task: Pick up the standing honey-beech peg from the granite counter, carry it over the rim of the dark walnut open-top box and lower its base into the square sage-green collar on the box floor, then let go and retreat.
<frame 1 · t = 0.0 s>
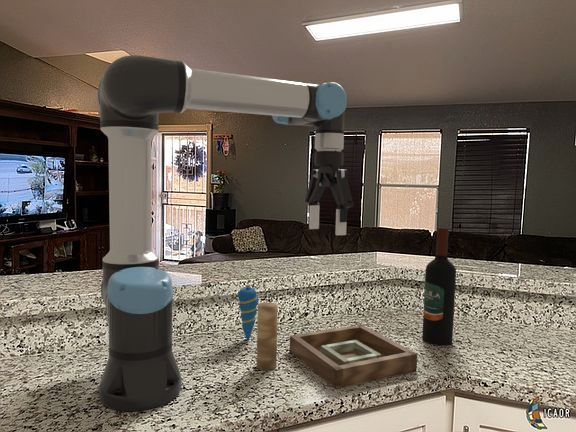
hand: (326, 231, 118), 28 cm above the worktop, fingers open, 13 cm apart
box: (350, 360, 104), on the worktop
wine bottle: (437, 340, 118), on the worktop
ornament: (247, 340, 116), on the worktop
peg: (266, 366, 100), on the worktop
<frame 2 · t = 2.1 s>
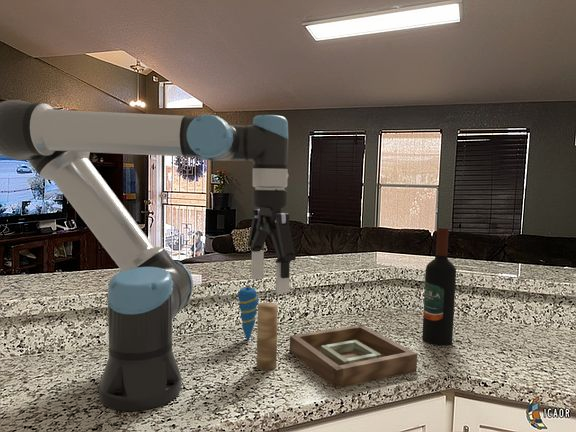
hand: (269, 285, 98), 18 cm above the worktop, fingers open, 13 cm apart
nothing on the worktop moved.
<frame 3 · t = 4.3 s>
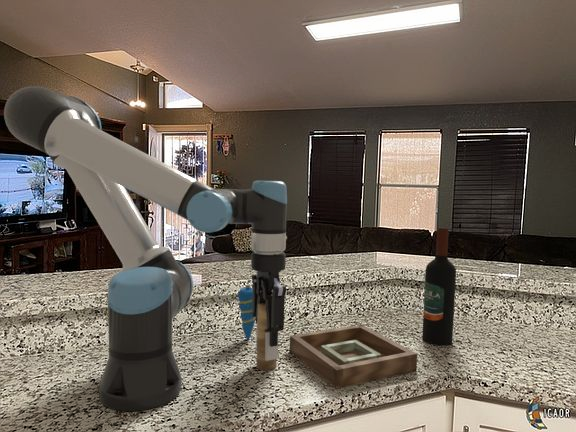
hand: (266, 354, 100), 3 cm above the worktop, fingers closed on peg, 4 cm apart
peg: (266, 366, 100), on the worktop, touching gripper
everything else where it was.
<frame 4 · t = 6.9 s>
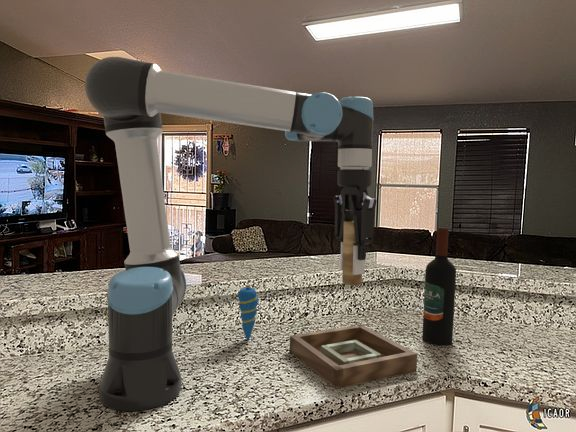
hand: (352, 271, 102), 21 cm above the worktop, fingers closed on peg, 4 cm apart
peg: (352, 282, 102), point 19 cm above the worktop, touching gripper
everything else where it was.
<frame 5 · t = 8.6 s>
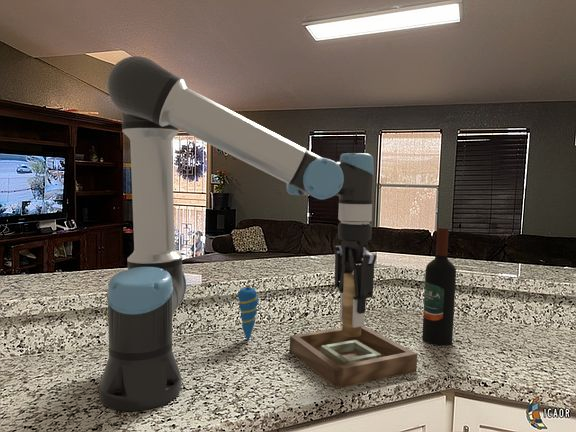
hand: (351, 322, 103), 9 cm above the worktop, fingers closed on peg, 4 cm apart
peg: (351, 333, 103), point 6 cm above the worktop, touching gripper
everything else where it was.
when the fingers open (4 cm above the worktop, at t = 9.7 s): peg drops 1 cm, resting on box.
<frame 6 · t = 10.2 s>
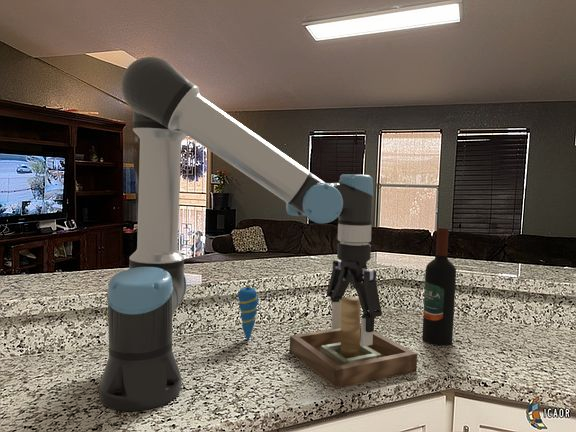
hand: (350, 336, 103), 6 cm above the worktop, fingers open, 11 cm apart
peg: (350, 358, 104), point 1 cm above the worktop, touching box
everything else where it was.
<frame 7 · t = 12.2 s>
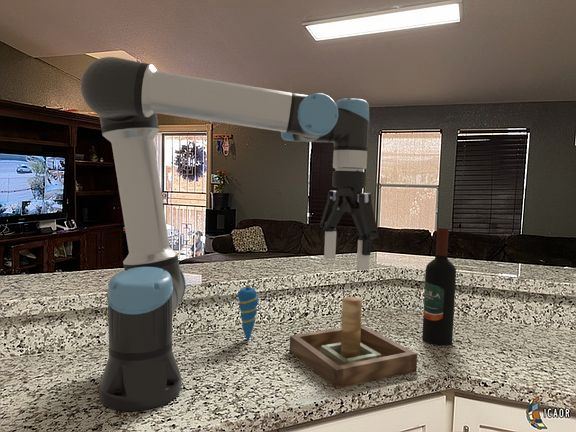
hand: (345, 263, 102), 23 cm above the worktop, fingers open, 13 cm apart
nothing on the worktop moved.
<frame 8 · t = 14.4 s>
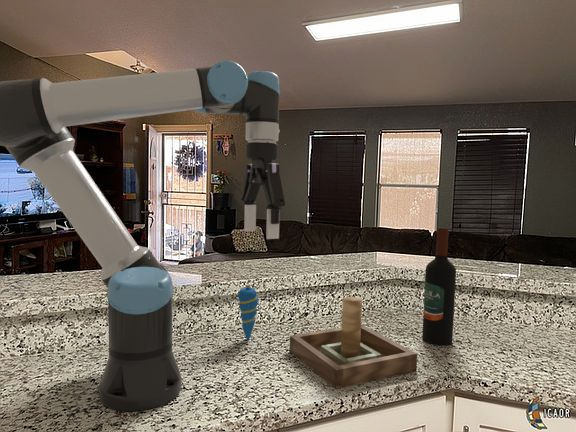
hand: (260, 234, 104), 29 cm above the worktop, fingers open, 13 cm apart
nothing on the worktop moved.
at the end: peg 0.0 cm off-centre on the box, point 0.6 cm above the box's base; peg tilted 0°; the gripper is holding nothing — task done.
